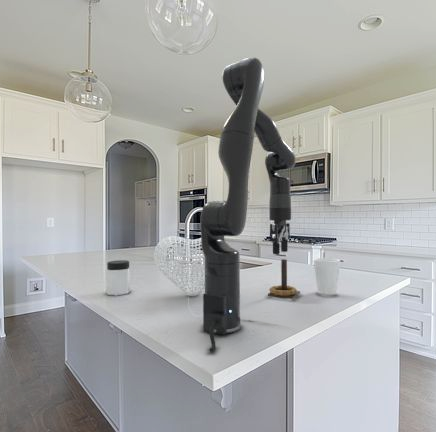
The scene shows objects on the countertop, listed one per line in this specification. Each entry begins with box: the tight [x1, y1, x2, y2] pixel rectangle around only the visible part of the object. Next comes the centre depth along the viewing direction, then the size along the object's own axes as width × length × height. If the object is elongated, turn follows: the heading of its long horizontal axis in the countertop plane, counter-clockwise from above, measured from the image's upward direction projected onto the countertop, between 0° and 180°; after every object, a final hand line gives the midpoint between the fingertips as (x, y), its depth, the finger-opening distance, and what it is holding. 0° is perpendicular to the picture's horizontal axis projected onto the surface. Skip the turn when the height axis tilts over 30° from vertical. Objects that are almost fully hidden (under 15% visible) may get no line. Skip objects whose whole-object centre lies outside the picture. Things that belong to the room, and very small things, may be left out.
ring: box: [269, 285, 298, 296], centre depth 111 cm, size 10×10×2 cm
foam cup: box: [313, 257, 341, 296], centre depth 113 cm, size 10×9×13 cm
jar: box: [105, 259, 131, 297], centre depth 118 cm, size 9×8×12 cm
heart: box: [153, 235, 227, 297], centre depth 113 cm, size 28×16×22 cm, turn 94°
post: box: [267, 258, 301, 300], centre depth 111 cm, size 9×9×14 cm
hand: (280, 252), depth 108 cm, fingers open, 8 cm apart
